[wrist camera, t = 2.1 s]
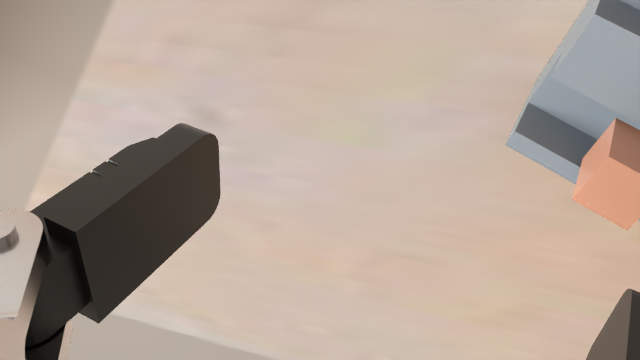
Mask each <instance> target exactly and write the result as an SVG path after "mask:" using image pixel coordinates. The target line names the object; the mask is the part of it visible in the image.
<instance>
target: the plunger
mask: <svg viewBox="0 0 640 360" xmlns="http://www.w3.org/2000/svg"><path fill="white" fill-rule="evenodd" d="M572 199H573V200H574V201H576V202H578V203H580V204H581V205H583V206H585V207H587V208H589V209H590V210H592V211H594V212H596V213H597V214H599V215H601V216H603V217H604V218H606V219H608V220H610V221H612V222H613V223H615V224H617V225H619V226H620V227H622V228H624V229H626V230H628V229H629V228H630V227H631V226H632V225H633V224H634V223H635V222H636V221H637V220H638V219H639V218H640V130H638V129H636V128H635V127H633V126H631V125H629V124H627V123H625V122H623V121H621V120H619V119H618V118H615V120H614V121H613V122H612V123H611V124H610V126H609V127H608V128H607V129H606V130H605V132H604V133H603V134H602V135H601V137H600V138H599V139H598V140H597V141H596V143H595V144H594V145H593V146H592V148H591V149H590V150H589V151H588V152H587V154H586V155H585V156H584V157H583V159H582V163H581V166H580V170H579V174H578V178H577V182H576V186H575V190H574V194H573V198H572Z"/></svg>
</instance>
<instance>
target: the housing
mask: <svg viewBox="0 0 640 360" xmlns="http://www.w3.org/2000/svg"><path fill="white" fill-rule="evenodd" d="M615 118H618V119H619V120H621V121H623V122H625V123H627V124H629V125H631V126H633V127H635V128H636V129H638V130H640V0H589V2H588V3H587V5H586V6H585V8H584V9H583V11H582V12H581V14H580V15H579V17H578V18H577V20H576V21H575V23H574V24H573V26H572V28H571V29H570V31H569V32H568V34H567V35H566V37H565V38H564V40H563V41H562V43H561V44H560V46H559V47H558V49H557V50H556V52H555V53H554V55H553V56H552V58H551V59H550V61H549V62H548V64H547V65H546V67H545V68H544V70H543V71H542V73H541V74H540V76H539V77H538V79H537V80H536V82H535V85H534V87H533V89H532V91H531V93H530V95H529V97H528V99H527V101H526V103H525V105H524V107H523V109H522V112H521V114H520V116H519V118H518V120H517V122H516V124H515V126H514V128H513V130H512V132H511V134H510V136H509V139H508V141H507V143H506V146H508V147H510V148H512V149H513V150H515V151H517V152H519V153H521V154H522V155H524V156H526V157H528V158H530V159H531V160H533V161H535V162H537V163H539V164H540V165H542V166H544V167H546V168H547V169H549V170H551V171H553V172H555V173H556V174H558V175H560V176H562V177H564V178H565V179H567V180H569V181H571V182H572V183H574V184H576V182H577V178H578V174H579V170H580V166H581V163H582V159H583V157H584V156H585V155H586V154H587V152H588V151H589V150H590V149H591V148H592V146H593V145H594V144H595V143H596V141H597V140H598V139H599V138H600V137H601V135H602V134H603V133H604V132H605V130H606V129H607V128H608V127H609V126H610V124H611V123H612V122H613V121H614V120H615ZM639 220H640V218H639Z"/></svg>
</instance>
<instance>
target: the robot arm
mask: <svg viewBox="0 0 640 360" xmlns="http://www.w3.org/2000/svg"><path fill="white" fill-rule="evenodd" d="M219 199H220V171H219V146H218V140H217V138H216V136H215V135H213V134H211V133H208V132H205V131H203V130H200V129H197V128H195V127H192V126H189V125H187V124H183V123H181V124H177V125H175V126H174V127H172V128H171V129H169V130H168V131H167V132H165V133H164V134H162V135H161V136H159V137H158V138H150V139H147V140H144V141H141V142H138V143H135V144H132V145H129V146H127V147H126V148H124V149H123V150H121V151H120V152H118V153H117V154H115V155H114V156H112V157H111V158H109V161H108V162H104V163H102V164H101V165H99V166H98V167H96V168H95V169H93V172H92V173H90V172H89V173H87V174H86V175H84V176H83V177H81V178H80V179H78V180H77V181H75V182H74V183H72V184H71V185H69V186H68V187H66V188H65V189H63V190H62V191H60V192H59V193H57V194H56V195H54V196H53V197H51V198H50V199H48V200H47V201H45V202H44V203H42V204H41V205H39V206H38V207H36V208H35V209H33V210H32V211H30V212H28V211H24V210H18V209H6V210H0V360H67V357H68V352H69V348H70V343H71V338H72V332H73V327H72V322H71V319H72V317H74V316H75V315H76V314H77V313H78V312H79V313H81V314H82V315H84V316H86V317H88V318H90V319H92V320H93V321H95V322H97V323H100V322H101V321H102V320H103V319H104V318H105V317H106V316H107V315H108V314H109V313H110V312H112V311H113V310H114V309H115V308H116V307H117V306H118V305H119V304H120V303H121V302H122V301H123V300H124V299H125V298H126V297H127V296H129V295H130V294H131V293H132V292H133V291H134V290H135V289H136V288H137V287H138V286H139V285H140V284H141V283H142V282H143V281H144V280H146V279H147V278H148V277H149V276H150V275H151V274H152V273H153V272H154V271H155V270H156V269H157V268H158V267H159V266H160V265H161V264H163V263H164V262H165V261H166V260H167V259H168V258H169V257H170V256H171V255H172V254H173V253H174V252H175V251H176V250H177V249H178V248H180V247H181V246H182V245H183V244H184V243H185V242H186V241H187V240H188V239H189V238H190V237H191V236H192V235H193V234H194V233H195V232H197V231H198V230H199V229H200V228H201V227H202V226H203V225H204V224H205V223H206V222H207V221H208V220H209V219H210V218H211V217H212V215H213V214H214V212H215V210H216V208H217V206H218V203H219ZM586 360H640V292H637V291H635V290H632V289H627V290H626V291H625V292H624V294H623V295H622V297H621V298H620V300H619V302H618V303H617V305H616V307H615V308H614V310H613V312H612V313H611V315H610V317H609V318H608V320H607V322H606V323H605V325H604V327H603V328H602V330H601V332H600V333H599V335H598V337H597V338H596V340H595V342H594V343H593V345H592V347H591V349H590V351H589V354H588V356H587V358H586Z"/></svg>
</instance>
